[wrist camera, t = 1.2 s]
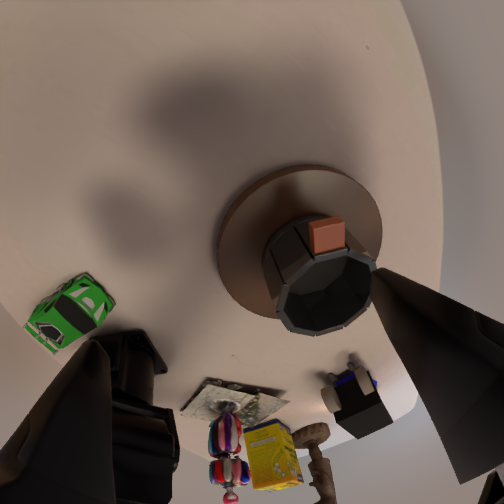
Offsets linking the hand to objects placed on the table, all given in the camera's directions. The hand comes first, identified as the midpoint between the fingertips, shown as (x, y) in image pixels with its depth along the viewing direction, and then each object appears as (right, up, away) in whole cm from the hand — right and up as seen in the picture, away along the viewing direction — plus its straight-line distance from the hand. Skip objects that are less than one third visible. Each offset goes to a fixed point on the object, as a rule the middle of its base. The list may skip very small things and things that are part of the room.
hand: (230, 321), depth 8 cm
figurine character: (+14, -16, +27) cm, 34 cm away
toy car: (-16, -3, +13) cm, 21 cm away
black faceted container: (+5, +2, +12) cm, 13 cm away
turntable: (+5, +2, +14) cm, 14 cm away
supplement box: (+3, -26, +31) cm, 41 cm away
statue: (-2, -17, +25) cm, 30 cm away
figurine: (+11, -31, +36) cm, 49 cm away
